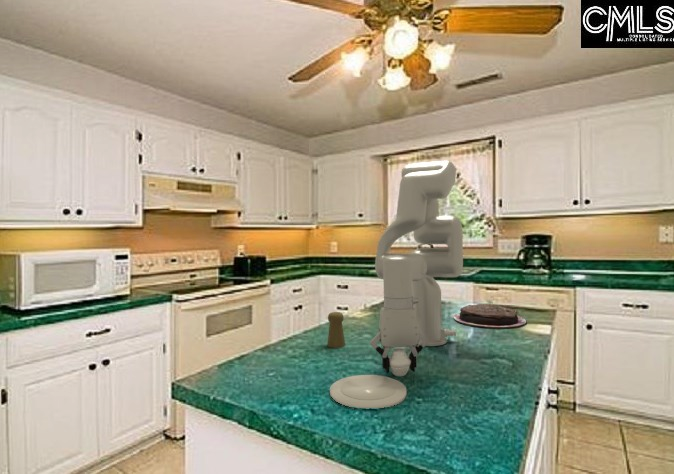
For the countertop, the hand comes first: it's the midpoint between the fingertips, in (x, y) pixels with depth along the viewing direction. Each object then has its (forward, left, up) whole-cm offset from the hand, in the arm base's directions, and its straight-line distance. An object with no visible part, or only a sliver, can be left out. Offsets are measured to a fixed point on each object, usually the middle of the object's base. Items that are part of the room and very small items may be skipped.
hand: (399, 370), depth 108 cm
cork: (+15, -29, -1) cm, 33 cm away
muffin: (0, 0, -1) cm, 1 cm away
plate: (+10, +11, -1) cm, 15 cm away
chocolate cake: (-49, -55, -2) cm, 74 cm away
